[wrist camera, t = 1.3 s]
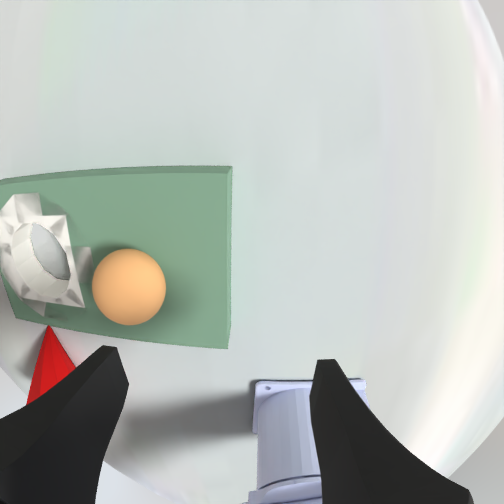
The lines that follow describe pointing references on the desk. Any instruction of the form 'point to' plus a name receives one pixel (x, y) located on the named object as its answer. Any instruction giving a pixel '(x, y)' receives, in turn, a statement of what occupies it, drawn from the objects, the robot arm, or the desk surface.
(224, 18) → the desk surface
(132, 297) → the ball
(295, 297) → the desk surface
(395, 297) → the desk surface
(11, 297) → the green flat board
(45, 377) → the gemstone
